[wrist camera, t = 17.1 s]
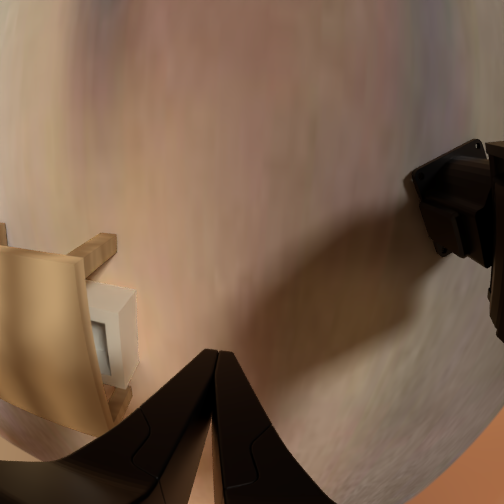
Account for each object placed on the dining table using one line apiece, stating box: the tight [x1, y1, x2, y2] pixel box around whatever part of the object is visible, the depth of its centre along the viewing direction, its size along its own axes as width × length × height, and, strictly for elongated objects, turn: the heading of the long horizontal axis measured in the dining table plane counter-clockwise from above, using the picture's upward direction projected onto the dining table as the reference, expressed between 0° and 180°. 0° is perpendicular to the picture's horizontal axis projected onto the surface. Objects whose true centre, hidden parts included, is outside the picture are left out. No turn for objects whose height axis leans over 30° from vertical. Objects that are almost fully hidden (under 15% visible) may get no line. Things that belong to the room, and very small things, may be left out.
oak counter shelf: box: [0, 223, 132, 437], centre depth 19 cm, size 12×14×6 cm
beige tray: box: [85, 279, 139, 390], centre depth 20 cm, size 10×6×4 cm, turn 82°
